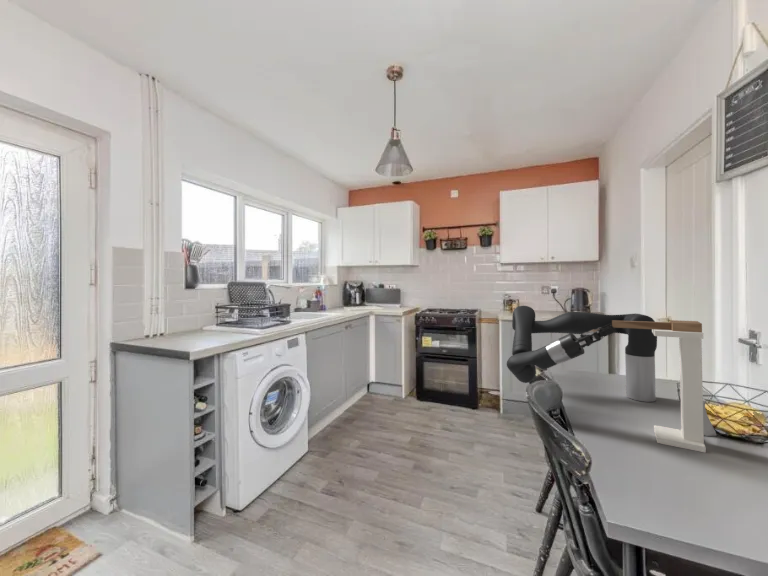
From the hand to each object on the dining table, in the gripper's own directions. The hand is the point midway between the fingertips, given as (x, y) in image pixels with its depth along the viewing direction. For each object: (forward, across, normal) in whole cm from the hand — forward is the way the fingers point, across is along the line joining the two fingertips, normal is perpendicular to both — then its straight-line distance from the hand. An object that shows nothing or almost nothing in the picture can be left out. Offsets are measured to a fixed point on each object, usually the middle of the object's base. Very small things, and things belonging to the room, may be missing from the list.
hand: (614, 326), depth 102 cm
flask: (+1, -12, -38) cm, 40 cm away
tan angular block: (+9, -1, -6) cm, 10 cm away
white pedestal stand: (-4, -1, -35) cm, 35 cm away
